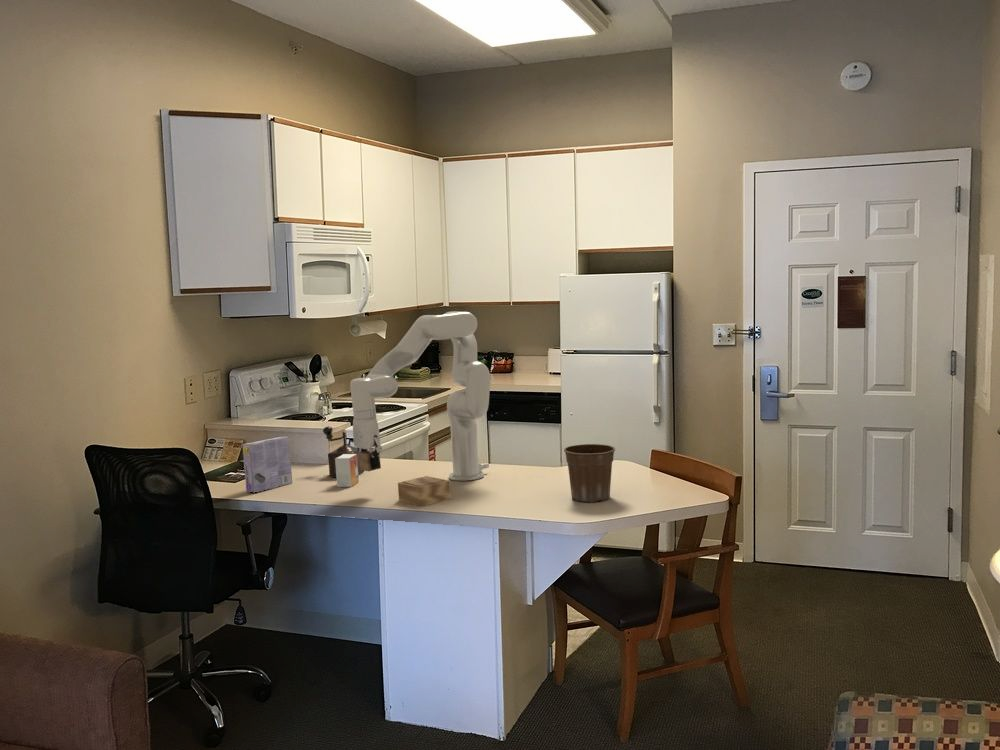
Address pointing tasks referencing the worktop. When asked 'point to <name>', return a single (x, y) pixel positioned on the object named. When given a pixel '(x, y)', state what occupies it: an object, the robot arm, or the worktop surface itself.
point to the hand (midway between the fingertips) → (370, 466)
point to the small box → (346, 470)
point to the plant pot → (590, 471)
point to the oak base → (423, 490)
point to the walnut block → (366, 461)
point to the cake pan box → (267, 464)
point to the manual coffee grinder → (339, 451)
